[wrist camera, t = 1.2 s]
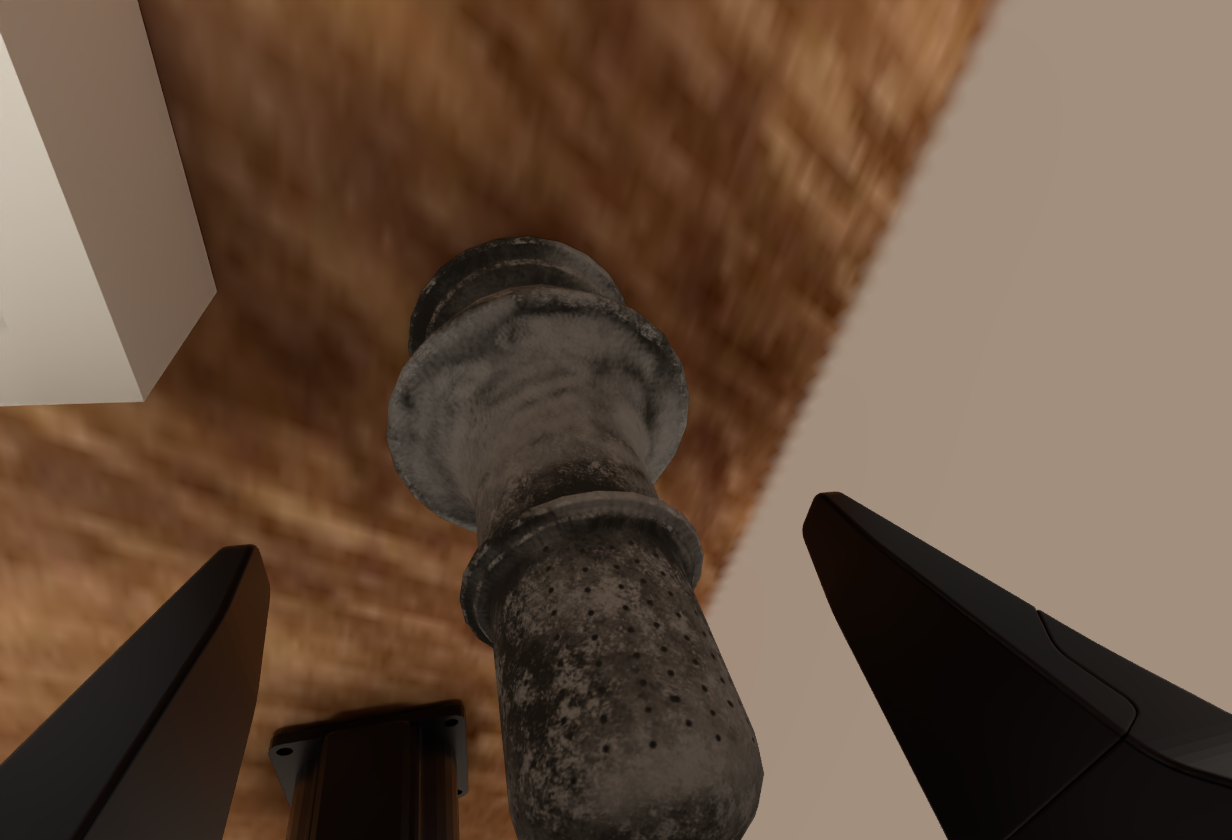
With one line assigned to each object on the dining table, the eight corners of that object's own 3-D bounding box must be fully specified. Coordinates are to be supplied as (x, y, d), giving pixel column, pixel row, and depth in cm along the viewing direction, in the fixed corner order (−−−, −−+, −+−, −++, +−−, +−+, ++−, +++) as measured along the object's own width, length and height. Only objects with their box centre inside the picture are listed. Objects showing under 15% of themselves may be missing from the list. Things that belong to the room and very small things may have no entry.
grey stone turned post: (532, 162, 12) (879, 778, 3) (684, 343, 16) (1066, 891, 6) (336, 345, 13) (126, 1203, 4) (517, 476, 17) (630, 1100, 8)
